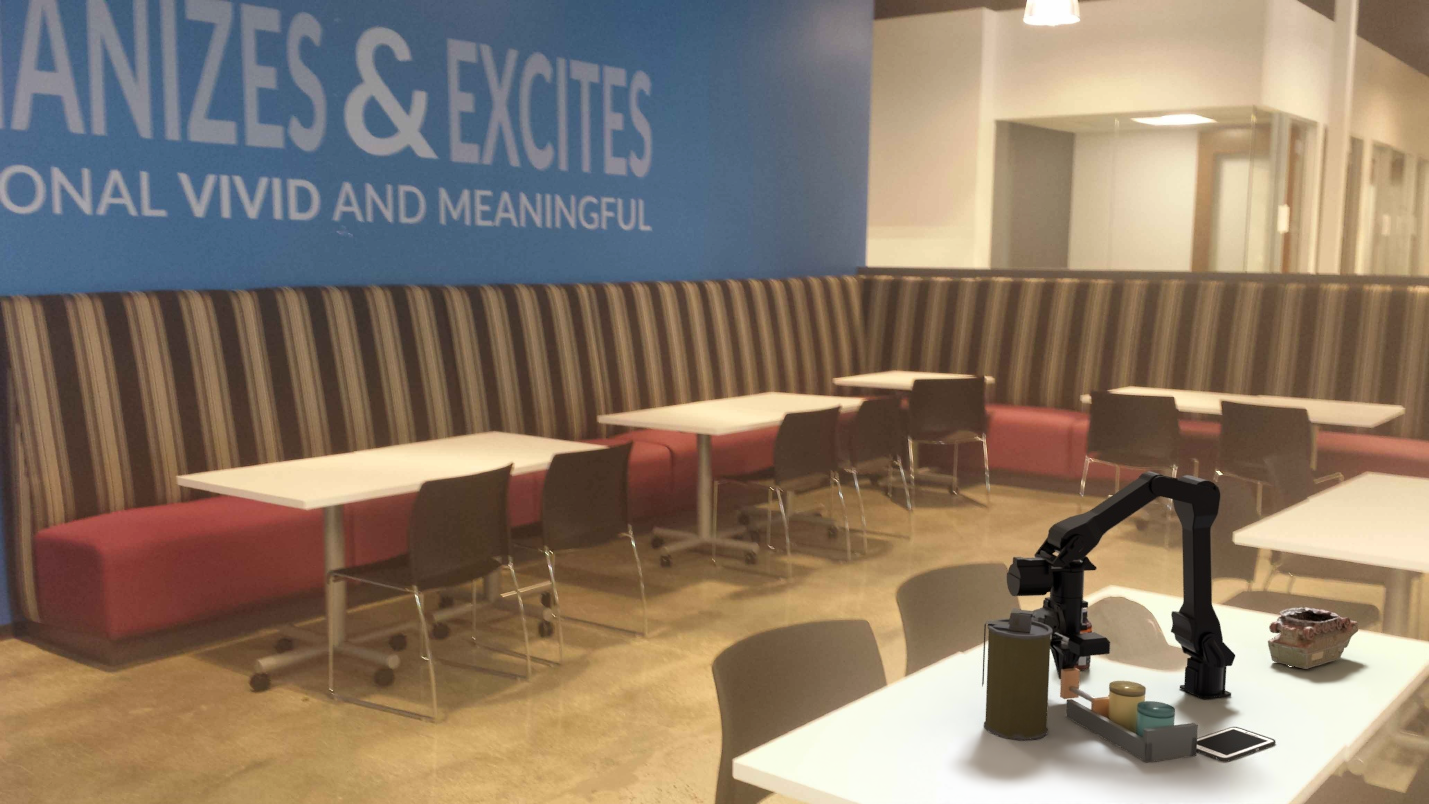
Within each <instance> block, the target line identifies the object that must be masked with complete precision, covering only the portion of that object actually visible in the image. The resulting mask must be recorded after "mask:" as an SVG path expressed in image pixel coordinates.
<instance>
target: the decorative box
mask: <svg viewBox="0 0 1429 804" xmlns="http://www.w3.org/2000/svg"><path fill="white" fill-rule="evenodd" d="M1279 614H1280V616H1279V617H1278V618H1277V619H1276V620H1275V621H1271V623H1270V624H1269V627H1268V628H1269V632H1270V633H1272V634H1277V635H1275V636H1274V637H1273V638H1271V639H1270V638H1269V640H1267V644H1268V645H1267V646H1268V649H1269V653H1270V657H1271V661H1272V662H1273V661H1274V662H1273V663H1278V664H1281V665H1282V664H1283V665H1285V664H1286V665H1285V666H1287V665H1289V666H1292V667H1293V668H1300V669H1304V670H1308V669H1310V668H1314V667H1318V666H1321V665H1325V664H1328V663H1330V662H1334V661H1338V660H1340V659H1341V656H1342V655H1343V653H1344V650H1345V649H1346V648H1348V646H1349V644H1350V641H1351V639H1352V637H1353V636H1354V635H1355V634H1356V633H1358V631H1359V623H1358V621H1355V620H1351V618H1350V617H1347V616H1346V617H1342V616H1340V615H1339V614H1337V613H1336V612H1333V611H1330V610H1325V609H1321V608H1315V607H1308V606H1307V607H1306V606H1293V607H1288V608H1284V609H1281V610H1280V611H1279ZM1317 665H1318V666H1317ZM1294 666H1295V667H1294Z"/></svg>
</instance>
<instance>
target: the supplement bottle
mask: <svg viewBox="0 0 1429 804" xmlns="http://www.w3.org/2000/svg"><path fill="white" fill-rule="evenodd" d="M1088 616H1089V614H1088V610H1087V608H1083V615H1082V623H1084V624H1086V625H1087V630H1086V631H1080V633H1091V632H1093V624H1092V622H1091V621H1090V620H1089V619H1088ZM1069 635H1070V634H1069ZM1091 657H1092V656H1081V657H1080V658H1079V660H1078V661H1077V663H1076V664H1075V666H1074V668H1077V669H1079V670H1080V671H1086V670H1087V669H1089V668H1090V667H1091V662H1092V661H1091V660H1092V659H1091Z"/></svg>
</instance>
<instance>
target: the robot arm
mask: <svg viewBox="0 0 1429 804" xmlns="http://www.w3.org/2000/svg"><path fill="white" fill-rule="evenodd" d="M1160 497H1161V498H1167V499H1171V500H1172V503H1173V508H1174V511H1175V513H1176V516H1177V518H1178V519H1179V522H1180V525H1181V530H1182V535H1181V537H1182V539H1181V540H1182V583H1183V585H1182V587H1183V588H1182V590H1183V591H1182V592H1183V593H1182V594H1183V599H1182V600H1183V601H1182V604H1181V607H1180V608H1179V610H1178V611H1177V610H1176V611H1174V610H1172V611H1171V621H1172V627H1171V630H1170V633H1172V634H1174V638H1175V640H1176V642H1177V643H1178V644H1180V646H1181V649H1182V653H1183V654H1185V655H1187V656H1190V657H1187V658H1186V666H1185V668H1184V669H1185V670H1184V682H1183V683H1184V684H1180V685H1179V689H1181V690H1183V691H1185V692H1187V693H1189V694H1192V695H1194V696H1196V697H1198V698H1200V699H1202V700H1203V699H1206V700H1207V699H1215V698H1222V697H1224V698H1225V697H1231V696H1232V692H1230V691H1228V690H1226V683H1227V682H1226V680H1227V667H1231V666H1233V664H1234V661H1235V658H1236V654H1235V653H1234V652H1233V651H1232V649H1230V647H1229V646H1228V645H1226V643H1225V642H1224V640H1223V639H1224V638H1223V631H1222V628H1221V626H1222V625H1221V623H1220V620H1219V618H1218V616H1217V613H1216V611H1215V609H1214V606H1213V600H1212V599H1213V594H1212V593H1213V587H1212V585H1213V584H1212V583H1213V582H1212V580H1213V579H1212V578H1213V577H1212V526H1213V524H1214V523H1215V520H1216V518H1217V517H1218V515H1219V511H1220V504H1221V498H1222V496H1221V489H1220V487H1219V486H1217V484H1216V483H1214V482H1213V481H1210V480H1208V479H1204V478H1201V477H1197V476H1194V475H1187V474H1186V475H1183V476H1181V477H1179V478H1176V477H1174V476H1173V477H1172V476H1167V475H1164V474H1160V473H1157V472H1154V471H1145V472H1142V473H1141V474H1140V475H1139V476H1138V478H1136V479H1135V480H1133V481H1132V482H1131V483H1129V484H1127V485H1126V486H1124V487H1123V488H1121V489H1120V490H1118V491H1117V492H1116V493H1114V494H1112V495H1110V497H1108V498H1106V499H1105V500H1103V501H1102V502H1100V503H1099V504H1098V505H1095V507H1093V508H1092V509H1089V510H1088V511H1085V512H1084V513H1080V514H1076V515H1072V516H1069V517H1066V518H1065V519H1062V520H1059V521H1058V522H1055V524H1053V525H1052V526H1051V527H1050V528H1049V529H1048V532H1047V533H1048V534H1047V538H1046V539H1045V540H1044V541H1043V542H1042V544H1041V545H1040V547H1039V548H1038V549H1037V550H1036V552H1035V553H1034V555H1033V556H1034V557H1024V556H1023V557H1021V556H1013V557H1012V563H1011V564H1010V565H1009V567H1008V570H1007V572H1006V584H1007V590H1008V592H1009V593H1010V595H1011V596H1012V597H1032V596H1035V597H1037V596H1046V595H1047V594H1048V593H1049V597H1048V596H1047V597H1044V599H1043V602H1042V607H1040V608H1036V609H1034V610H1032V611H1034V612H1036V613H1037V614H1038V615H1037V614H1036V618H1033V617H1032V620H1033V621H1037V622H1041V623H1043V624H1046V625H1048V626H1050V627H1051V628H1052V631H1053V632H1052V634H1051V637H1050V653H1051V654H1052V658H1053V661H1054V666H1055V667H1056V668H1055V669H1056V672H1057V676H1058V679H1059V680H1060V681H1061V669H1071V668H1074V666H1075V664H1076V663H1077V661H1078V660H1079V658H1080V657H1081V656H1091V657H1092V656H1100V655H1110V653H1111V641H1110V640H1109V639H1108V638H1107V637H1106V636H1104V635H1102V634H1099V633H1097V632H1095V631H1094V632H1093V631H1092V632H1091V633H1080V631H1086V630H1087V625H1086V624H1084V623H1082V615H1083V608H1084V609H1088V608H1089V601H1086V600H1084V591H1085V590H1084V589H1085V571H1087V572H1088V571H1097V566H1096V565H1095V564H1094V563H1093V562H1092V561H1091V560H1090V559H1089V557H1088V556H1087V555H1088V554H1090V553H1091V552H1092V551H1093V550H1094V549H1095V548H1096V547H1097V546H1098V545H1099V543H1100V541H1102V539H1103V537H1104V535H1106V533H1108V532H1109V531H1110V530H1111V529H1113V528H1115V527H1116V526H1117V525H1118V524H1120V523H1122V522H1123V521H1125V520H1126V519H1127V518H1129V517H1130V516H1132V515H1133V514H1135V513H1137V512H1138V511H1140V510H1142V508H1144V507H1145V506H1147V505H1149V504H1150V503H1152V502H1153V501H1154V500H1156V499H1158V498H1160ZM1055 553H1056V554H1057V555H1056V554H1055ZM1069 634H1070V635H1069Z"/></svg>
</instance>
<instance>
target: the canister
mask: <svg viewBox="0 0 1429 804" xmlns="http://www.w3.org/2000/svg"><path fill="white" fill-rule="evenodd" d="M1036 614H1037V613H1036V612H1034V611H1033V610H1027V609H1022V608H1012V609H1011V612H1010V614H1009V618H1000V619H995V620H985V623H984V626H983V627H984V628H983V631H984V632H983V649H982V650H983V654H982V655H983V657H982V678H981V679H982V680H981V681H982V683H981V687H982V688H983V687H984V683H985V681H984V680H985V659H986V658H985V657H986V655H985V654H986V633H987V631H986V629H988V637H987V638H988V643H987V644H988V645H987V664H986V665H987V667H986V668H987V670H986V673H987V674H986V691H985V692H986V698H985V699H986V700H985V721H984V722H983V727H984V729H985V730H986V731H987V732H989V733H990V734H992V735H994V736H997V737H1000V738H1005V739H1010V740H1015V741H1031V740H1038V739H1041V738H1044V737H1046V736H1047V735H1048V733H1049V728H1048V708H1049V706H1048V704H1049V703H1048V702H1049V700H1048V699H1049V684H1050V683H1049V682H1050V681H1049V679H1050V662H1051V661H1050V659H1051V658H1050V657H1051V656H1050V655H1051V649H1050V637H1051V634H1052V632H1053V631H1052V628H1051V627H1050V626H1048V625H1046V624H1043V623H1041V622H1037V621H1033V620H1032V617H1033V618H1036ZM1037 615H1038V614H1037Z"/></svg>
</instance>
